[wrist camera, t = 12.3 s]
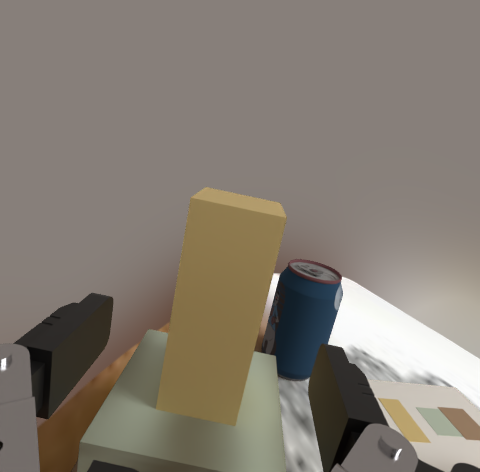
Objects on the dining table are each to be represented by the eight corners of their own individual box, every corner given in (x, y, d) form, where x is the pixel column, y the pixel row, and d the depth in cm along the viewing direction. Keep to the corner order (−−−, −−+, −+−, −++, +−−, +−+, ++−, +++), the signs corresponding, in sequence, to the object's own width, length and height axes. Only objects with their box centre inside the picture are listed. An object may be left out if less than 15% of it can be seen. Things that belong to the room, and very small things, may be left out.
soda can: (328, 371, 38) (359, 277, 35) (295, 395, 33) (326, 288, 30) (282, 339, 42) (306, 254, 39) (247, 356, 37) (270, 260, 34)
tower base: (265, 429, 28) (287, 350, 26) (270, 627, 16) (311, 512, 14) (129, 401, 28) (140, 320, 26) (38, 579, 16) (45, 456, 14)
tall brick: (239, 372, 22) (280, 202, 19) (235, 426, 18) (286, 217, 15) (175, 359, 22) (206, 187, 19) (155, 409, 18) (190, 197, 15)
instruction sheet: (454, 389, 39) (455, 387, 39) (547, 480, 29) (548, 477, 29) (333, 378, 37) (334, 375, 37) (387, 474, 26) (388, 470, 26)
